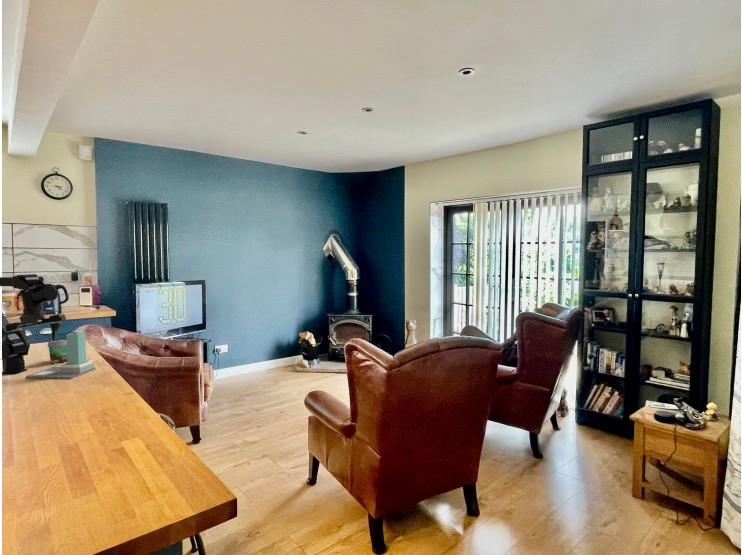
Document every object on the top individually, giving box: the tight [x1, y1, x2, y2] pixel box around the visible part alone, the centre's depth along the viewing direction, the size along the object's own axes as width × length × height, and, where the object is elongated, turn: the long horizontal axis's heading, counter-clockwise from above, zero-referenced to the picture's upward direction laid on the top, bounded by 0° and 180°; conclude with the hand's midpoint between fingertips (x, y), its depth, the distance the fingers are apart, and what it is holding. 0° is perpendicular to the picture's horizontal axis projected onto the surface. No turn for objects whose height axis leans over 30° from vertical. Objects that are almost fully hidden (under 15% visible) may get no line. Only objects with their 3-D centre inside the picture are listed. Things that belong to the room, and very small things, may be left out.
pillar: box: [66, 330, 87, 365], centre depth 178 cm, size 4×4×14 cm
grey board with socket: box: [25, 359, 96, 380], centre depth 176 cm, size 18×14×4 cm
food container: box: [47, 338, 68, 365], centre depth 196 cm, size 12×6×10 cm, turn 179°
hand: (40, 343), depth 174 cm, fingers open, 9 cm apart
